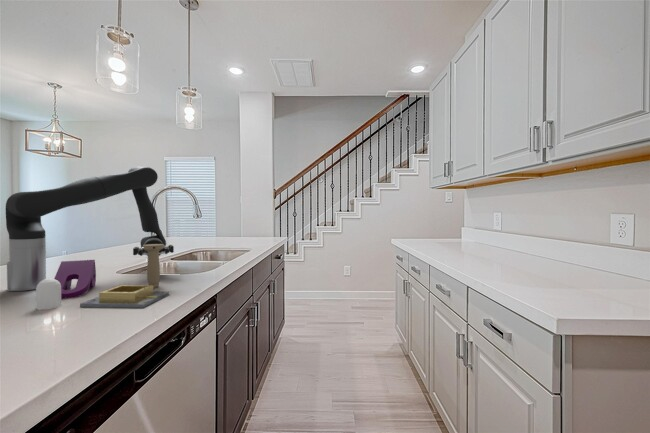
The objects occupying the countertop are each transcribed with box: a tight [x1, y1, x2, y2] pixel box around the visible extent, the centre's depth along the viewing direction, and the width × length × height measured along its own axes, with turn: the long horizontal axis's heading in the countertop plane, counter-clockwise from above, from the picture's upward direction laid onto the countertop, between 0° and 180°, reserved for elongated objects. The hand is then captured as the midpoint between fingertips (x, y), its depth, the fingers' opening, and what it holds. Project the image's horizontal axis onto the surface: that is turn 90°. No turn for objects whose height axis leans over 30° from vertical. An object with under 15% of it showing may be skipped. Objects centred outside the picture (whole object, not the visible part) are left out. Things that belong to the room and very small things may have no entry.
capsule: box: [35, 278, 62, 311], centre depth 90 cm, size 5×5×8 cm
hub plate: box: [79, 284, 170, 309], centre depth 96 cm, size 18×14×4 cm
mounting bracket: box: [53, 259, 97, 300], centre depth 106 cm, size 10×8×18 cm
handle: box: [143, 244, 164, 289], centre depth 113 cm, size 5×6×15 cm
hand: (154, 252), depth 123 cm, fingers open, 8 cm apart
